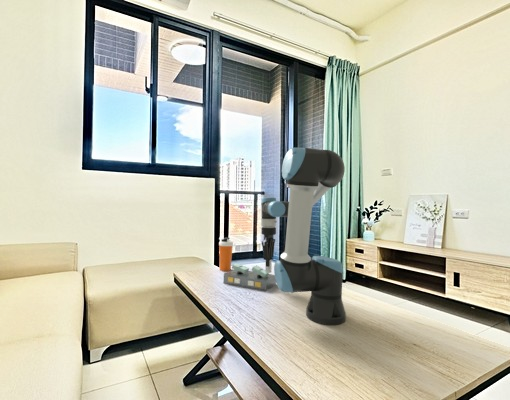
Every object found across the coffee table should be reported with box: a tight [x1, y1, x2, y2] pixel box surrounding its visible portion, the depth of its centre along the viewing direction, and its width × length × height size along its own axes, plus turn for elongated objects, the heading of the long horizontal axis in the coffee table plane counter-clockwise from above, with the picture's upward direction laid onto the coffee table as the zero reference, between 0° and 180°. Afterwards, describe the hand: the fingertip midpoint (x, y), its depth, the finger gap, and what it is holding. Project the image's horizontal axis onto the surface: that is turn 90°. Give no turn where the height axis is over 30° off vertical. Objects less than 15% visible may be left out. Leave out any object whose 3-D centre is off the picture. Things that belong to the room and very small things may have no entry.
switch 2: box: [251, 265, 270, 278], centre depth 146 cm, size 5×8×2 cm, turn 64°
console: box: [223, 269, 277, 292], centre depth 149 cm, size 13×25×6 cm, turn 64°
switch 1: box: [231, 262, 250, 273], centre depth 151 cm, size 5×8×2 cm, turn 64°
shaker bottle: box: [218, 237, 234, 272], centre depth 177 cm, size 9×9×20 cm
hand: (268, 272), depth 144 cm, fingers closed
